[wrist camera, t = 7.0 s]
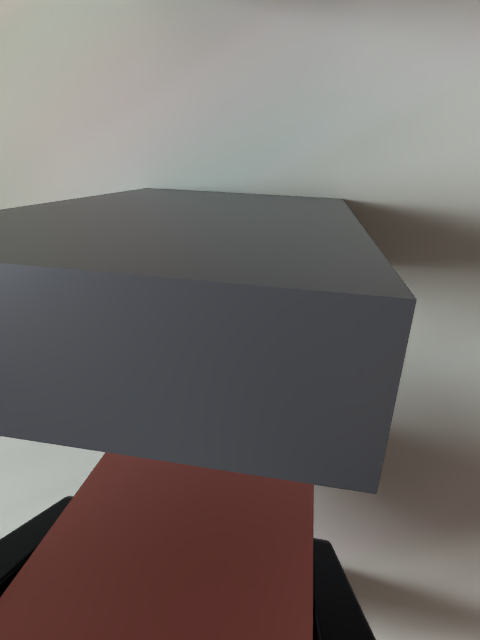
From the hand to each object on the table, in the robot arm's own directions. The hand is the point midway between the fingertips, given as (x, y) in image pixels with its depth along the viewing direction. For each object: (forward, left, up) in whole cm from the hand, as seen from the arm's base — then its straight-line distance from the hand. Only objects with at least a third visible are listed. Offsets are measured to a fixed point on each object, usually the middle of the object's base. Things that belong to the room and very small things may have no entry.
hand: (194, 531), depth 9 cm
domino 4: (+6, 0, -4) cm, 7 cm away
